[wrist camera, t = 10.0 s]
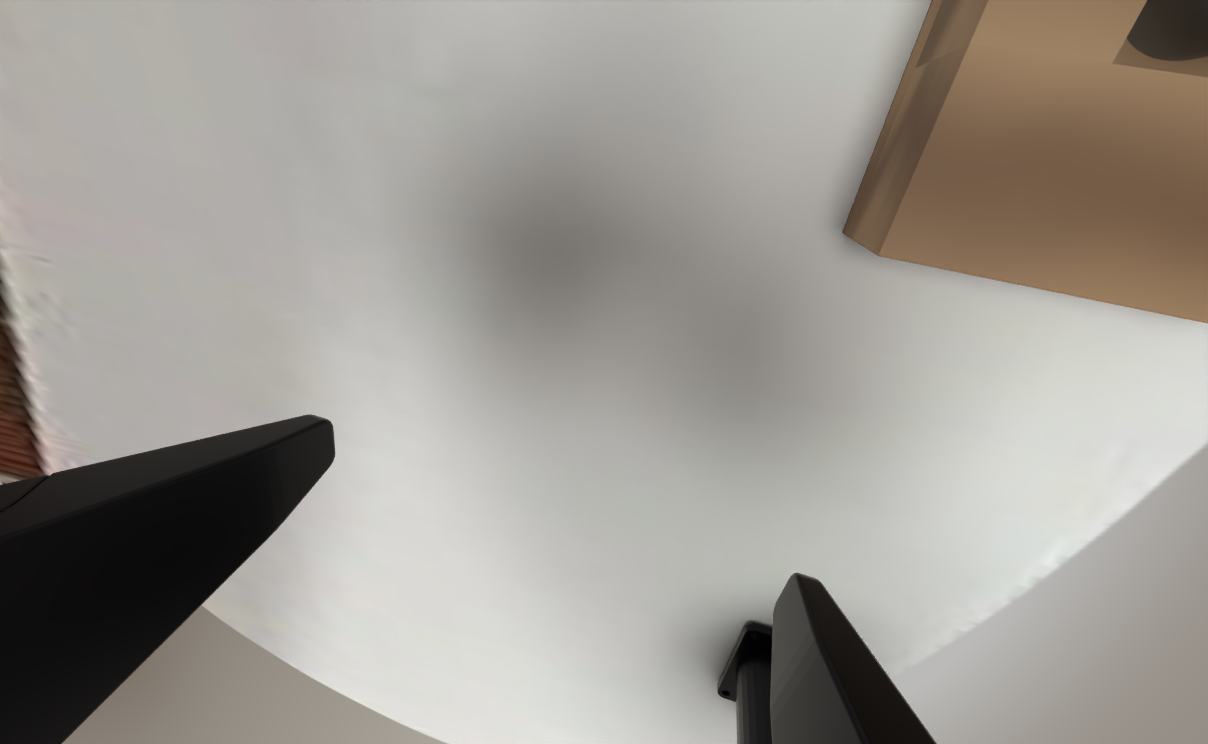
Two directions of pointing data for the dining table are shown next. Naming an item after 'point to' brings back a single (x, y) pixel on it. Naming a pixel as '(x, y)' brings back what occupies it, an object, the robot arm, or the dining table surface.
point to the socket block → (1045, 156)
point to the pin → (1172, 30)
